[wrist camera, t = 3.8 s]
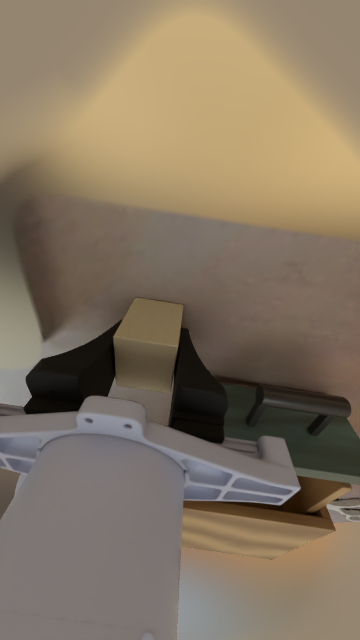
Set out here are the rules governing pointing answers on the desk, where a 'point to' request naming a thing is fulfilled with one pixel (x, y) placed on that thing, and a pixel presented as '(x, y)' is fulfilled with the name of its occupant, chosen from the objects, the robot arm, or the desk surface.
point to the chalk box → (148, 345)
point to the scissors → (348, 514)
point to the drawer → (299, 440)
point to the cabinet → (250, 529)
